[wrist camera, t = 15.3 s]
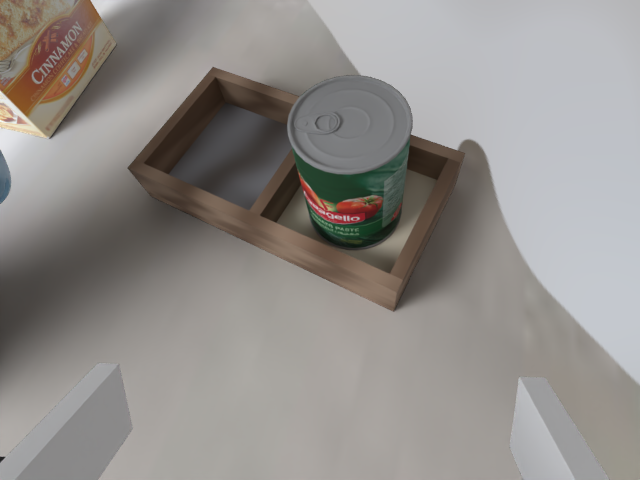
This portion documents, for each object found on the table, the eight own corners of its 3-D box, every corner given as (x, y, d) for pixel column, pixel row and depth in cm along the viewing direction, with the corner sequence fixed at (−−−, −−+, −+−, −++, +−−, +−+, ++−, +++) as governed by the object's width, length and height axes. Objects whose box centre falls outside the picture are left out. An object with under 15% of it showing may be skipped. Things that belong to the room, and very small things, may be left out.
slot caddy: (150, 196, 41) (127, 168, 37) (226, 101, 46) (213, 67, 42) (393, 311, 34) (397, 291, 30) (455, 184, 39) (465, 153, 35)
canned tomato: (400, 170, 38) (410, 71, 29) (403, 250, 35) (417, 170, 25) (311, 171, 39) (291, 76, 30) (305, 250, 36) (281, 173, 26)
